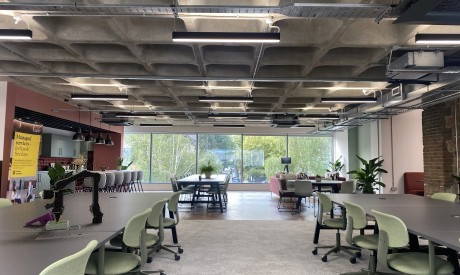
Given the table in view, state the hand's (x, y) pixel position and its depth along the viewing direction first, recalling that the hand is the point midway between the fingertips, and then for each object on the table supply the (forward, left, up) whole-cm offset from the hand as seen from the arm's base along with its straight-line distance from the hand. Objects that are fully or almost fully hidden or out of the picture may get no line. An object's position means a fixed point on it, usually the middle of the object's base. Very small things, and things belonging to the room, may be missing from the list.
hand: (58, 220), depth 226 cm
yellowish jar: (0, 0, -5) cm, 5 cm away
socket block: (-11, +8, -6) cm, 15 cm away
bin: (0, 0, -6) cm, 6 cm away
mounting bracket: (+14, -22, -6) cm, 27 cm away
